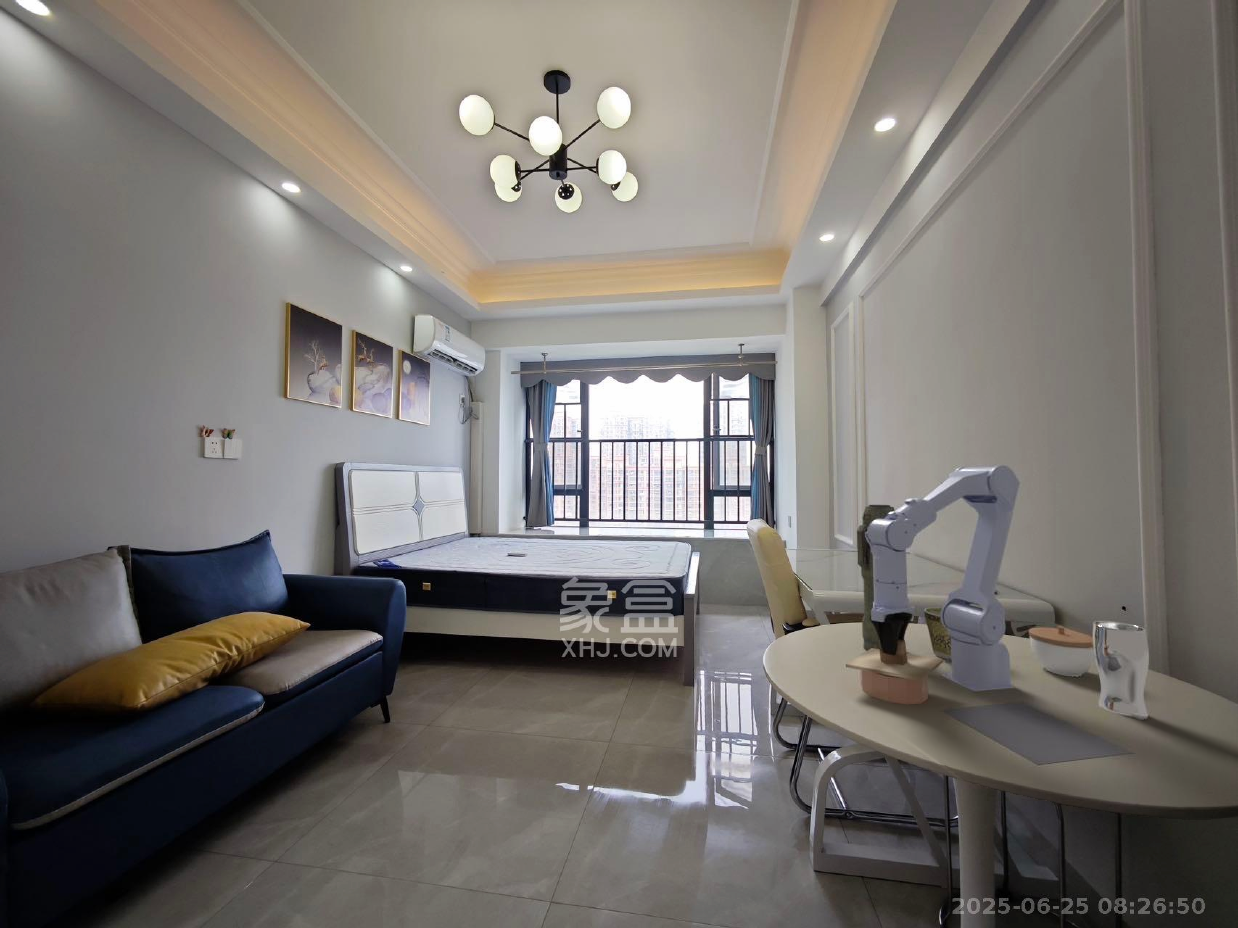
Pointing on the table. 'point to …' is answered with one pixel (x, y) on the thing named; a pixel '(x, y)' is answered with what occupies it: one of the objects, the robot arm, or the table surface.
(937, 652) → the ceramic cup
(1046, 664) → the lidded jar
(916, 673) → the lid
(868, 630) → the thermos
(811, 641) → the table surface
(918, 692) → the bowl
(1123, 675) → the silver metal tumbler
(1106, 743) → the mat
